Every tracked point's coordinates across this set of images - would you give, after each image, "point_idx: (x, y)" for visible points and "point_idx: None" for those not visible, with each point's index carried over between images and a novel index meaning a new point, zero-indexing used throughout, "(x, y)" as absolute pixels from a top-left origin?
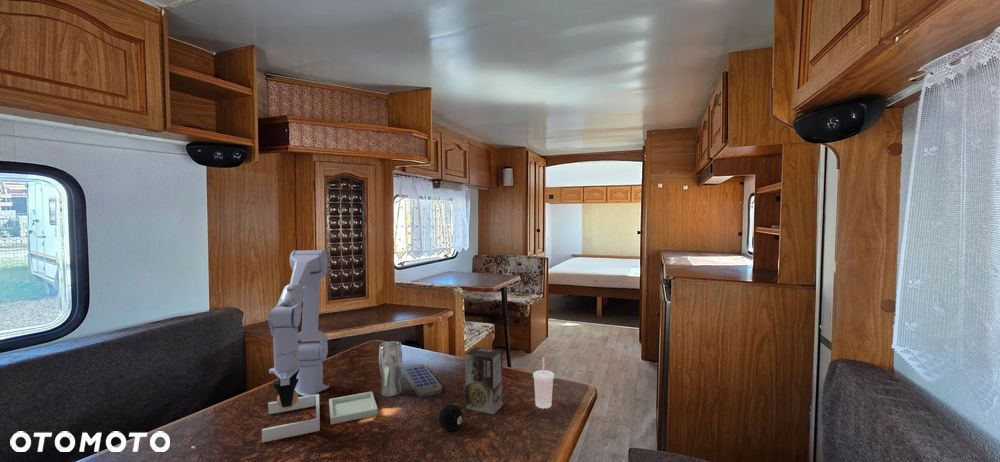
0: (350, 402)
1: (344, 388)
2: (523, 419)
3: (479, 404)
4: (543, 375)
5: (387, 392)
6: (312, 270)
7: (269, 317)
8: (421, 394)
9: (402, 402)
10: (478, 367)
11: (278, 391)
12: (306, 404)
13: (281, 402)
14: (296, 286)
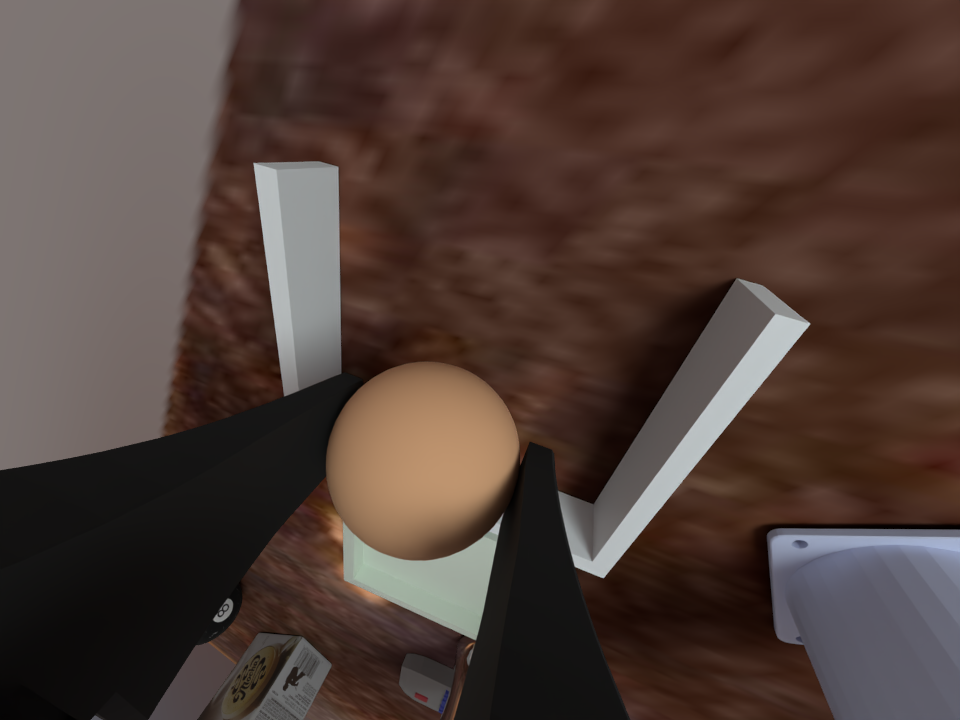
0: (489, 576)
1: (687, 641)
2: (232, 632)
3: (265, 653)
4: None
5: (463, 653)
6: None
7: None
8: (406, 661)
9: (401, 622)
10: None
11: (96, 461)
12: (614, 486)
13: (298, 391)
14: None
